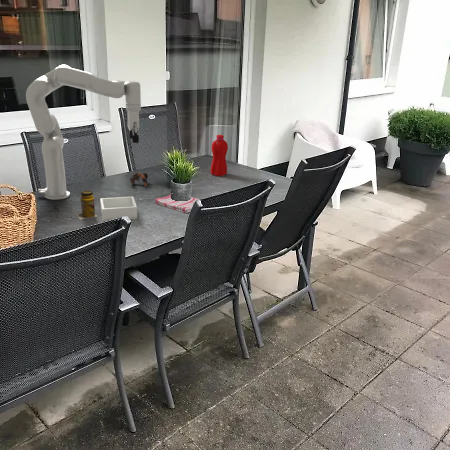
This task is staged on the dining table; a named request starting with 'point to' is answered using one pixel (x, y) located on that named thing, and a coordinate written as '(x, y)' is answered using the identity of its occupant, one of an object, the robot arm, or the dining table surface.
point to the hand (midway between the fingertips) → (134, 140)
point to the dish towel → (176, 203)
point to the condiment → (87, 205)
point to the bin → (118, 208)
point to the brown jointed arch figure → (136, 177)
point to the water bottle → (219, 156)
